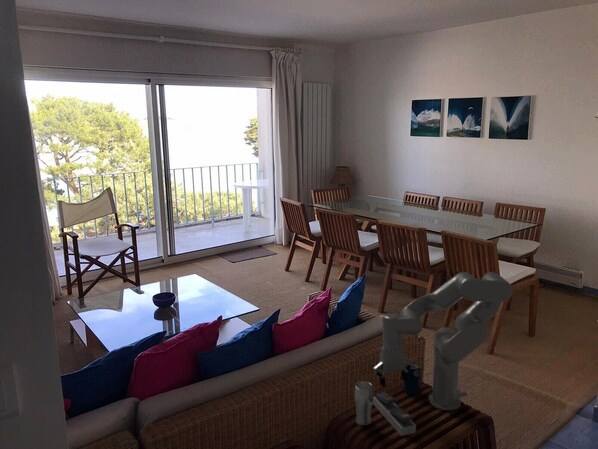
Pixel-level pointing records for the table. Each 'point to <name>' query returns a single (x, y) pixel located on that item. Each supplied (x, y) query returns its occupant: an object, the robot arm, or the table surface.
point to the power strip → (394, 417)
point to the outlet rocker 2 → (401, 414)
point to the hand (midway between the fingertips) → (393, 383)
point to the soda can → (413, 380)
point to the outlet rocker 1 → (386, 398)
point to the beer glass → (363, 402)
